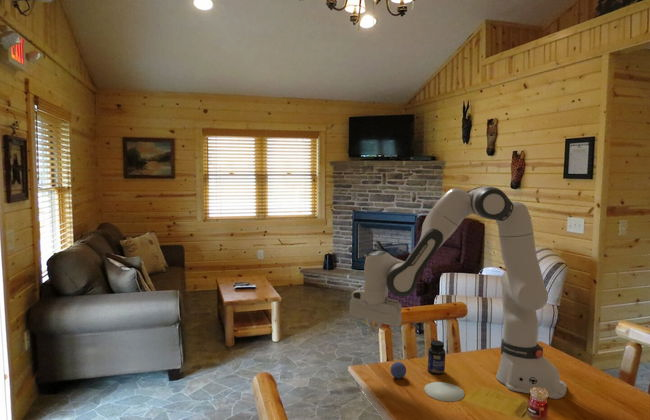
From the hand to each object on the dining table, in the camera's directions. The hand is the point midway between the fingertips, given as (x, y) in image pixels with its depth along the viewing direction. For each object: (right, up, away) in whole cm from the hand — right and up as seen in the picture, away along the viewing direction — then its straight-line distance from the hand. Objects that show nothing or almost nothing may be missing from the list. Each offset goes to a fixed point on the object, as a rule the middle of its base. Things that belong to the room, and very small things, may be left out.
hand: (374, 332), depth 166 cm
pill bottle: (+23, -15, +1) cm, 27 cm away
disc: (+22, -16, -14) cm, 31 cm away
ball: (+8, -12, -5) cm, 15 cm away
